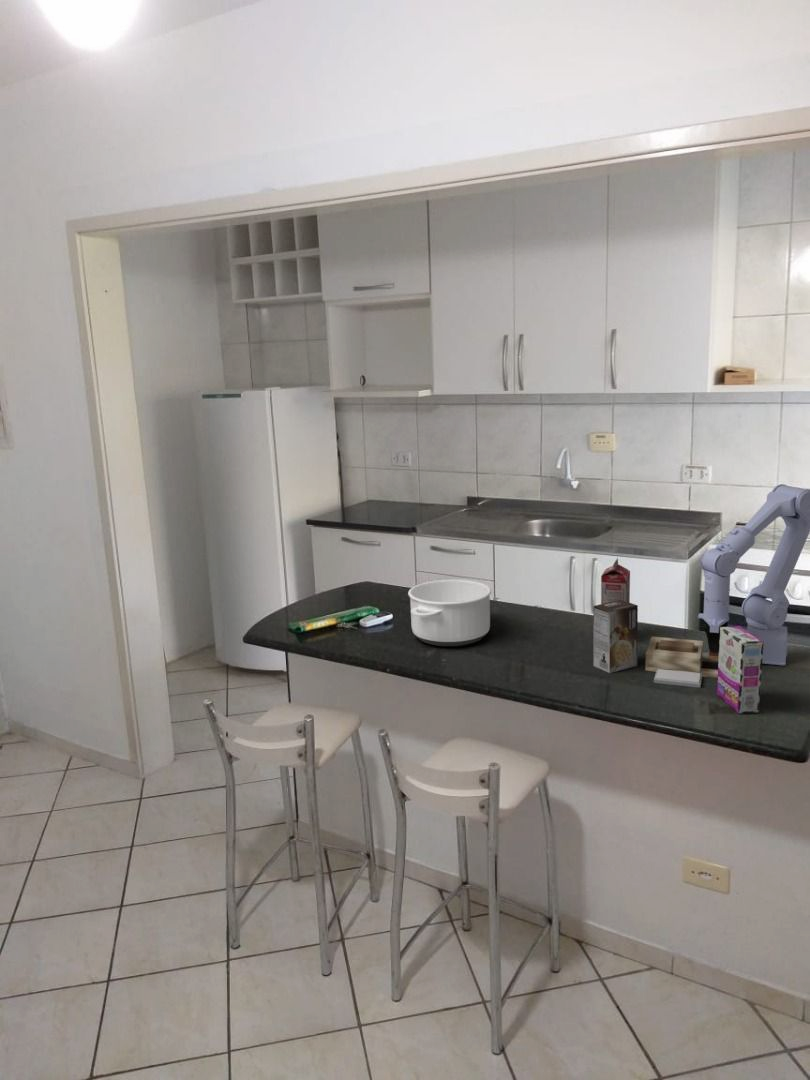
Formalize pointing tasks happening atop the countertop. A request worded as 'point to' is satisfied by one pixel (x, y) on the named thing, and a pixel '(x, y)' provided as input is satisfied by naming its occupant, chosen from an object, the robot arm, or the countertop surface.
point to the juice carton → (615, 584)
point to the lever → (708, 655)
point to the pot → (450, 612)
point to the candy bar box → (739, 669)
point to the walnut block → (676, 646)
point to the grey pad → (678, 678)
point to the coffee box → (615, 635)
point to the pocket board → (677, 658)
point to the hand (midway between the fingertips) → (714, 651)
